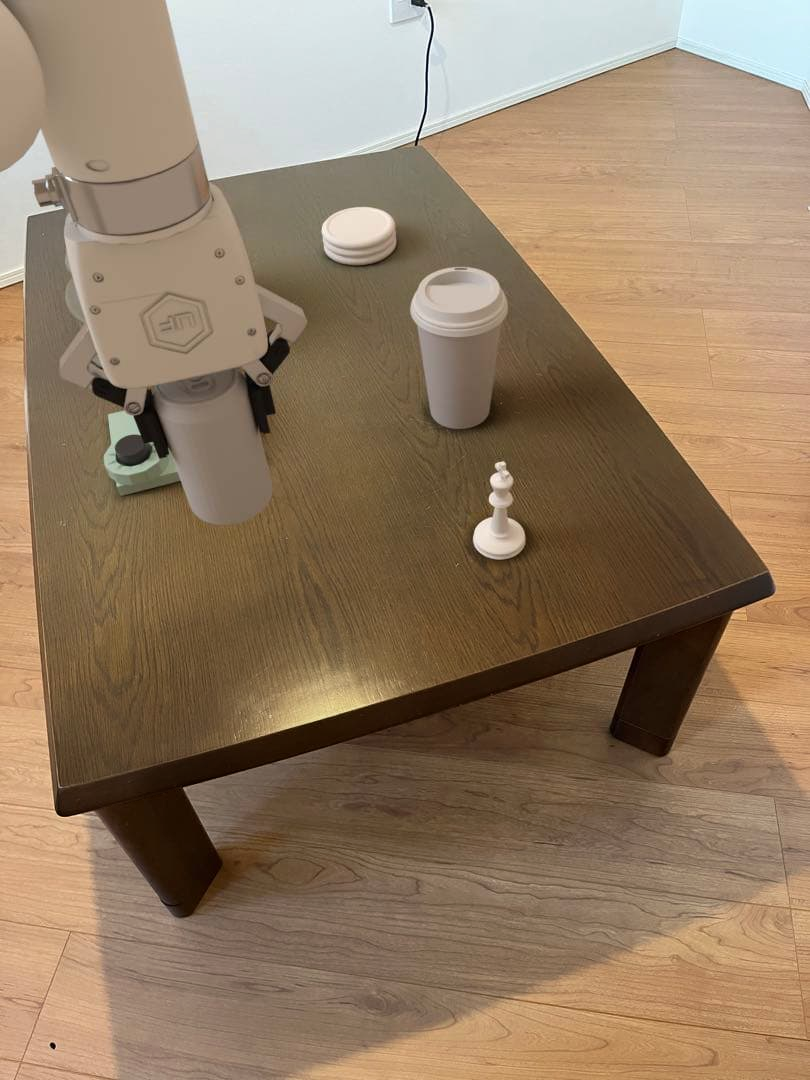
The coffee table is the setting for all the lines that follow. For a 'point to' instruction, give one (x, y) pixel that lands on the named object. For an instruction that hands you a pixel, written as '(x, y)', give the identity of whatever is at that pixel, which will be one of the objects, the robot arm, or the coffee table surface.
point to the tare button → (132, 450)
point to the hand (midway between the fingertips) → (212, 431)
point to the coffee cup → (459, 342)
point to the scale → (139, 475)
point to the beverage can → (215, 445)
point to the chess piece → (499, 521)
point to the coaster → (359, 236)
